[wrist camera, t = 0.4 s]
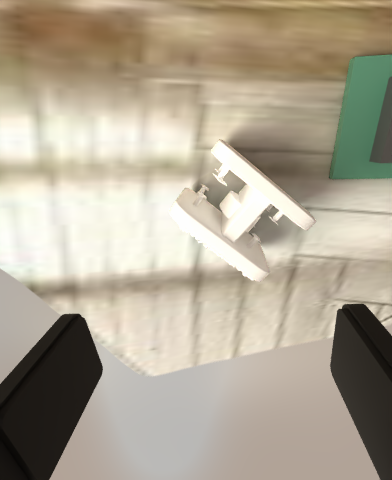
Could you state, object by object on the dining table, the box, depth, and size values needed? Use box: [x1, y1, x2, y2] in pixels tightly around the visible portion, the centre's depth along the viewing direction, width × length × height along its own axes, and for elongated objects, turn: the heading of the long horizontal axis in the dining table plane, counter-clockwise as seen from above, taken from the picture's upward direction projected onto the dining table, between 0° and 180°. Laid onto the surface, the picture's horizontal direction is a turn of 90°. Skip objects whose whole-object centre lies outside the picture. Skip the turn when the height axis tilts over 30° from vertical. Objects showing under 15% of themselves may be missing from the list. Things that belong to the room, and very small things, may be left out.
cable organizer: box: [169, 139, 316, 281], centre depth 32 cm, size 15×11×12 cm
